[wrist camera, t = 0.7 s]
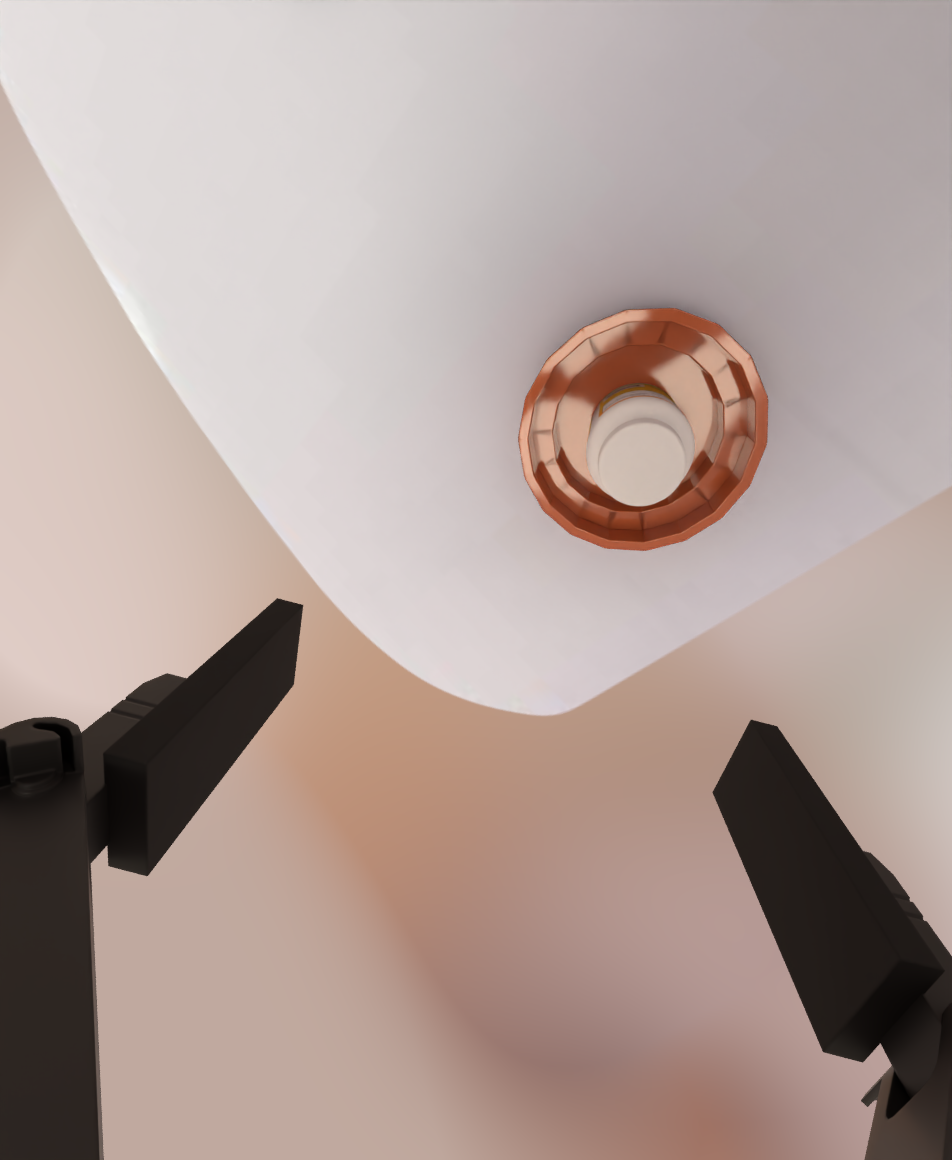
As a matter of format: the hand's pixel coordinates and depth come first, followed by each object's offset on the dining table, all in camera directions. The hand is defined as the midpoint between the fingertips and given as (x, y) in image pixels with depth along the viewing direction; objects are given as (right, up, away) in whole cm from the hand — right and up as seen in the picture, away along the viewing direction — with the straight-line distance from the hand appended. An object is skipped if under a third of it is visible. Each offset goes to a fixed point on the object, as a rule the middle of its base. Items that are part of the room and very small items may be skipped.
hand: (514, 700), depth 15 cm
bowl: (+9, +13, +18) cm, 24 cm away
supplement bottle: (+9, +13, +18) cm, 24 cm away
